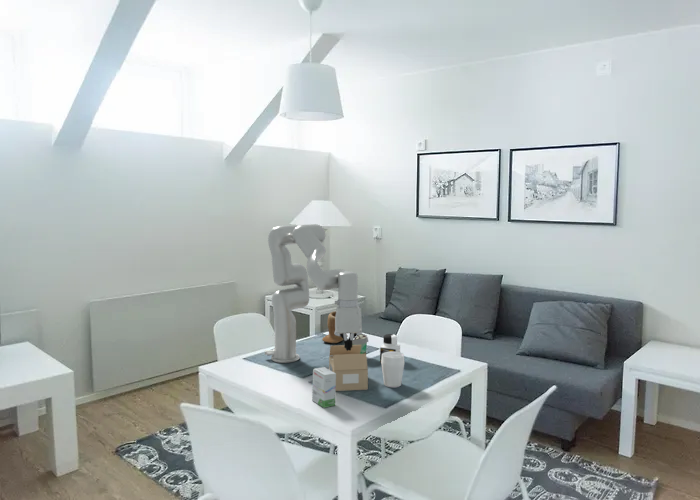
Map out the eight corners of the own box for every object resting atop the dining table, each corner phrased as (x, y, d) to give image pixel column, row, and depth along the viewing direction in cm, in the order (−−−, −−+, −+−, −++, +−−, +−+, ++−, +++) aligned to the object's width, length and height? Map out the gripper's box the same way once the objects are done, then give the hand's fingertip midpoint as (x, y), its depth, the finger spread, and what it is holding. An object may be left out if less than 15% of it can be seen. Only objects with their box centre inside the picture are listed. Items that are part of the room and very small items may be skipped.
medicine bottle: (379, 362, 237) (380, 336, 236) (384, 358, 243) (385, 332, 242) (395, 364, 234) (395, 337, 233) (400, 360, 241) (400, 333, 239)
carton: (333, 391, 202) (333, 370, 202) (328, 375, 220) (328, 355, 219) (367, 389, 204) (367, 368, 203) (360, 373, 222) (360, 354, 221)
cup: (397, 390, 203) (398, 359, 202) (376, 385, 208) (377, 355, 207) (408, 383, 211) (408, 353, 210) (387, 379, 216) (388, 350, 214)
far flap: (330, 346, 216) (330, 345, 216) (329, 355, 220) (329, 354, 220) (361, 345, 217) (361, 344, 218) (360, 354, 221) (359, 353, 222)
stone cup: (340, 346, 262) (340, 316, 261) (319, 343, 267) (319, 313, 266) (353, 338, 276) (353, 310, 274) (333, 336, 281) (333, 307, 279)
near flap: (334, 370, 201) (334, 370, 201) (333, 355, 204) (333, 354, 204) (367, 369, 203) (367, 368, 203) (366, 353, 206) (366, 353, 206)
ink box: (311, 400, 193) (311, 368, 192) (324, 397, 196) (324, 366, 195) (323, 408, 186) (323, 375, 185) (336, 405, 189) (336, 372, 188)
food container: (365, 362, 236) (365, 340, 235) (351, 362, 238) (352, 339, 237) (370, 354, 248) (370, 333, 247) (357, 353, 250) (357, 332, 249)
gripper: (329, 305, 204) (330, 353, 206) (368, 304, 206) (368, 351, 208) (328, 302, 212) (328, 347, 213) (365, 301, 214) (365, 346, 215)
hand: (348, 349), depth 211 cm, fingers closed
